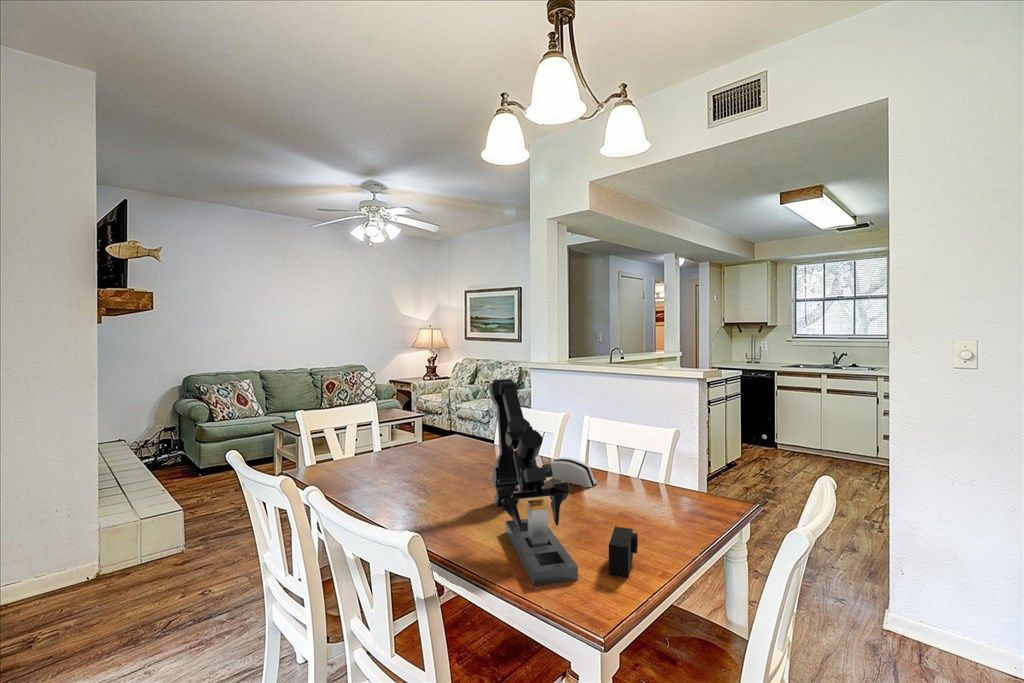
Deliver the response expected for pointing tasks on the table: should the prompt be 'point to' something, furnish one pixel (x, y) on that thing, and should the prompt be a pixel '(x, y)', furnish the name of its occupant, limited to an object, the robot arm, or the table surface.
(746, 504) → the table surface
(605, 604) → the table surface
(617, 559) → the digital camera
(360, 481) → the table surface
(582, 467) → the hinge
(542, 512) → the grey square peg
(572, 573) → the gray slotted board
